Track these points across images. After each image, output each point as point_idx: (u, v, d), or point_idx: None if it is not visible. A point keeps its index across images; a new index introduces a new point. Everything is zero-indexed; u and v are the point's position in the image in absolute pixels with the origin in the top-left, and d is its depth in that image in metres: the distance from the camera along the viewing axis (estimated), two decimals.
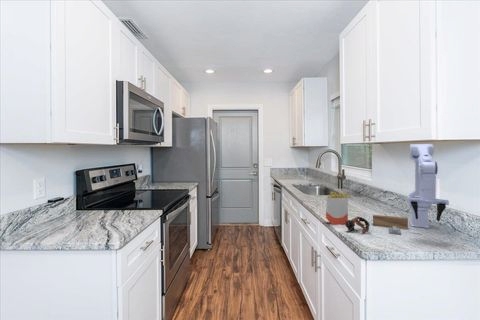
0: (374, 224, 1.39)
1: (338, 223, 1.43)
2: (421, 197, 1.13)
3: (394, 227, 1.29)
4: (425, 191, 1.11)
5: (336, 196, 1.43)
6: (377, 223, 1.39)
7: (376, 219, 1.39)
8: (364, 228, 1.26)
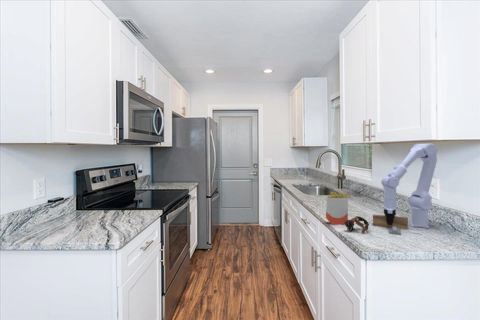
0: (374, 224, 1.40)
1: (338, 223, 1.43)
2: None
3: (394, 227, 1.29)
4: None
5: (336, 196, 1.43)
6: (377, 222, 1.39)
7: (376, 219, 1.39)
8: (363, 227, 1.27)
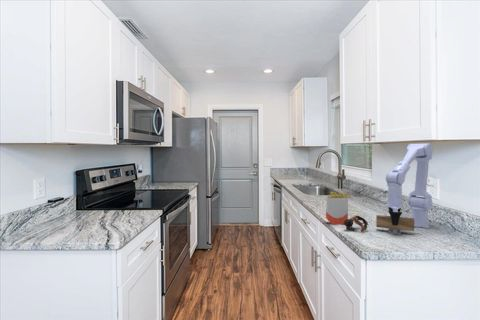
0: (378, 225, 1.30)
1: (338, 223, 1.43)
2: None
3: None
4: None
5: (336, 196, 1.43)
6: (381, 223, 1.30)
7: (379, 220, 1.30)
8: (362, 227, 1.29)
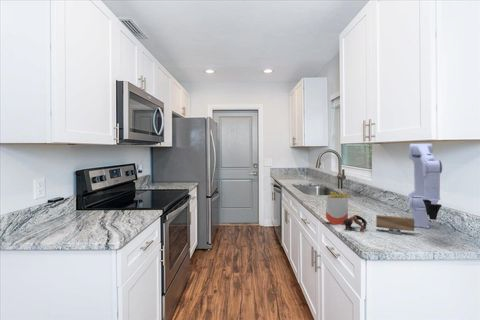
0: (378, 225, 1.30)
1: (338, 223, 1.43)
2: None
3: None
4: None
5: (336, 196, 1.43)
6: (381, 223, 1.30)
7: (379, 220, 1.30)
8: (362, 226, 1.30)
